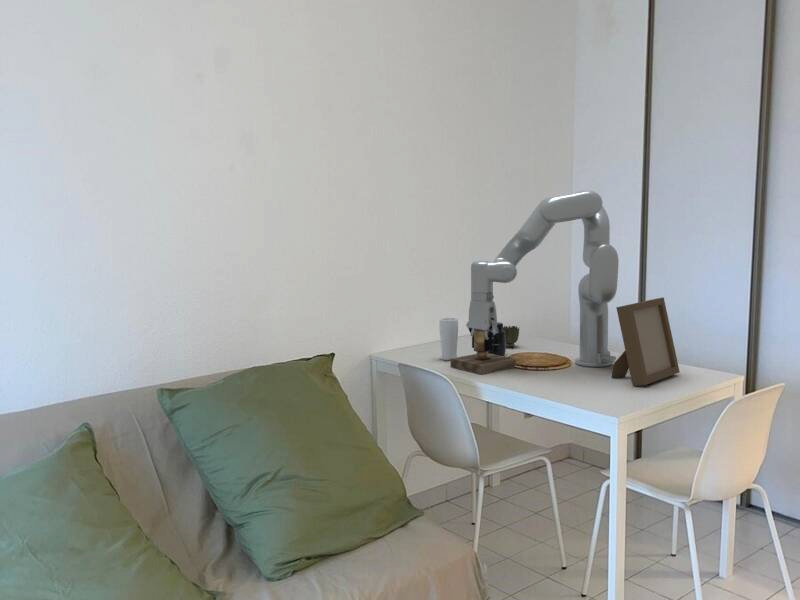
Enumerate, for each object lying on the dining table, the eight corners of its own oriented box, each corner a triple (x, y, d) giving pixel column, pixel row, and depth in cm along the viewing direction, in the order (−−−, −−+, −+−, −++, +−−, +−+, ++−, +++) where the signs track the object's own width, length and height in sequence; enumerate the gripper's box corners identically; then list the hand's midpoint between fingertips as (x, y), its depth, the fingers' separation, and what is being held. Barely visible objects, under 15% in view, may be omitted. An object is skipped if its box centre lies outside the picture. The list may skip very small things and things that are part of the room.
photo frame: (679, 375, 245) (680, 298, 242) (645, 388, 230) (645, 306, 227) (637, 369, 255) (637, 295, 252) (602, 381, 241) (602, 303, 238)
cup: (497, 346, 301) (497, 326, 299) (514, 344, 303) (514, 324, 302) (505, 349, 293) (505, 329, 292) (522, 348, 296) (522, 327, 295)
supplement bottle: (492, 357, 280) (492, 325, 278) (484, 354, 286) (483, 322, 285) (509, 355, 282) (508, 323, 281) (500, 352, 289) (499, 321, 287)
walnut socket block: (515, 367, 262) (515, 358, 262) (481, 374, 253) (481, 365, 253) (484, 360, 275) (484, 352, 275) (450, 367, 266) (450, 358, 265)
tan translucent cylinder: (493, 358, 263) (493, 329, 262) (481, 360, 260) (481, 331, 258) (482, 355, 268) (482, 327, 266) (470, 358, 264) (470, 329, 263)
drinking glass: (437, 358, 280) (436, 318, 278) (453, 356, 283) (452, 316, 281) (445, 362, 274) (444, 321, 272) (461, 360, 277) (461, 319, 275)
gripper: (507, 298, 256) (507, 351, 259) (473, 293, 270) (473, 344, 272) (491, 300, 252) (491, 354, 254) (457, 295, 265) (457, 346, 268)
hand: (482, 348), depth 263 cm, fingers closed on tan translucent cylinder, 5 cm apart
